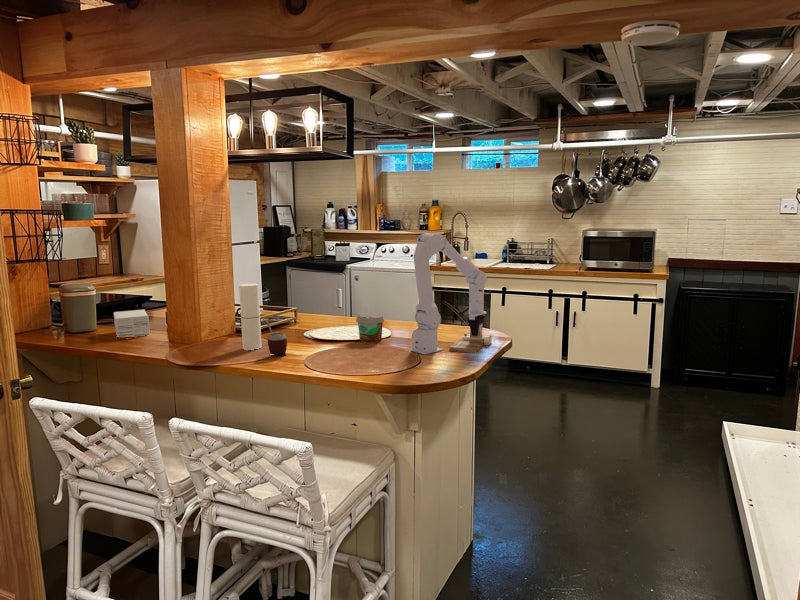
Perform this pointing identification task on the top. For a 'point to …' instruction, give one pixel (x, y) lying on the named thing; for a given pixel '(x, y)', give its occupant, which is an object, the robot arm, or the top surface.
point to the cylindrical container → (250, 316)
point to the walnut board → (466, 346)
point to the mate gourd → (277, 343)
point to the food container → (370, 328)
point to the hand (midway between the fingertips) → (476, 334)
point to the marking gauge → (479, 336)
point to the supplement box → (131, 323)
